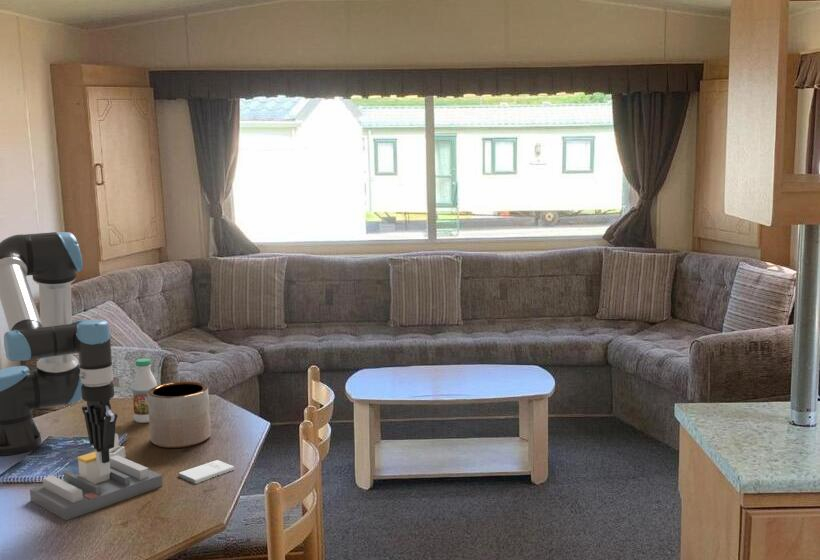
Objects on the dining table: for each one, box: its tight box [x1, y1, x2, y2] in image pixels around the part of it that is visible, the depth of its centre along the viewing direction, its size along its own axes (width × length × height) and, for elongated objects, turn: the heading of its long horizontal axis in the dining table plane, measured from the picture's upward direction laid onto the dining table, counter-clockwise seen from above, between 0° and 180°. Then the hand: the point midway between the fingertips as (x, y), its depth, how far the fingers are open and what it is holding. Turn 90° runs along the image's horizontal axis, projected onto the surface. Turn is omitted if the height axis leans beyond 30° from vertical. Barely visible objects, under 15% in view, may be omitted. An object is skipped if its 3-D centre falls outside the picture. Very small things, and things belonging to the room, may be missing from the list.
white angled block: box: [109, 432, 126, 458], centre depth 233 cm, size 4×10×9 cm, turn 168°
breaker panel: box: [29, 455, 163, 521], centre depth 211 cm, size 18×26×5 cm
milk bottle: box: [132, 358, 158, 424], centre depth 268 cm, size 8×8×20 cm
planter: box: [148, 381, 212, 449], centre depth 249 cm, size 18×18×16 cm
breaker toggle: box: [77, 450, 110, 484], centre depth 211 cm, size 4×6×7 cm
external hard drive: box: [177, 459, 235, 485], centre depth 223 cm, size 2×8×12 cm
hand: (104, 473), depth 208 cm, fingers closed
